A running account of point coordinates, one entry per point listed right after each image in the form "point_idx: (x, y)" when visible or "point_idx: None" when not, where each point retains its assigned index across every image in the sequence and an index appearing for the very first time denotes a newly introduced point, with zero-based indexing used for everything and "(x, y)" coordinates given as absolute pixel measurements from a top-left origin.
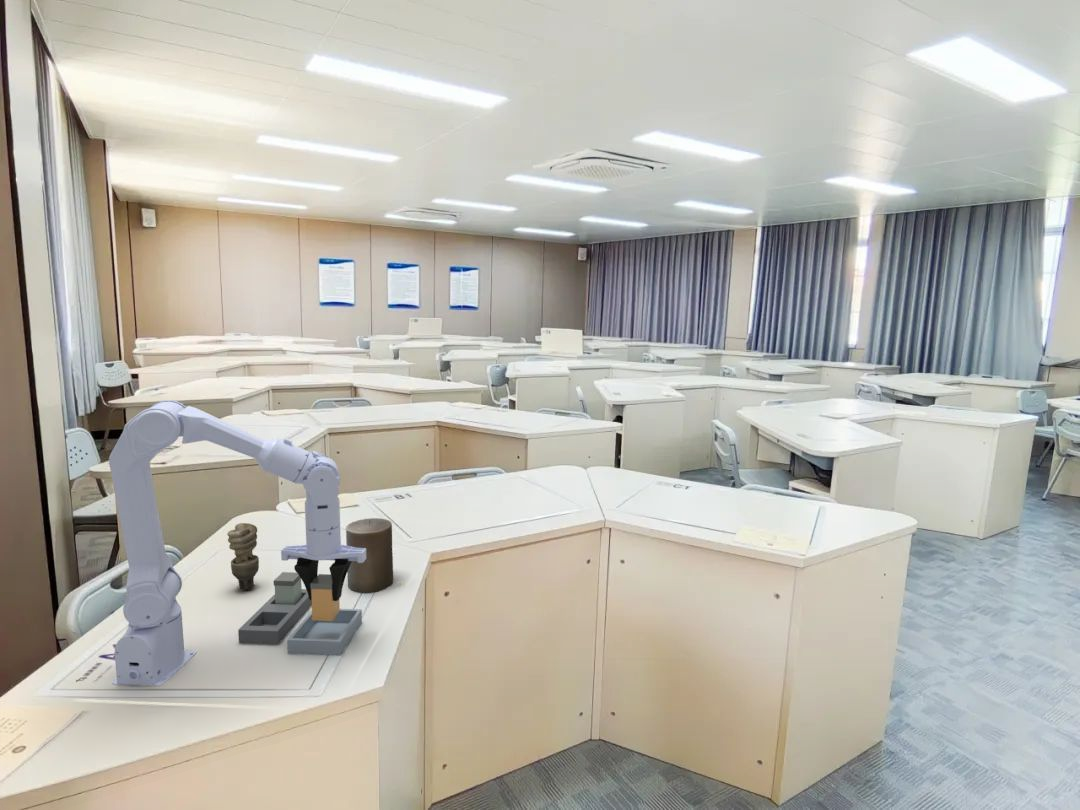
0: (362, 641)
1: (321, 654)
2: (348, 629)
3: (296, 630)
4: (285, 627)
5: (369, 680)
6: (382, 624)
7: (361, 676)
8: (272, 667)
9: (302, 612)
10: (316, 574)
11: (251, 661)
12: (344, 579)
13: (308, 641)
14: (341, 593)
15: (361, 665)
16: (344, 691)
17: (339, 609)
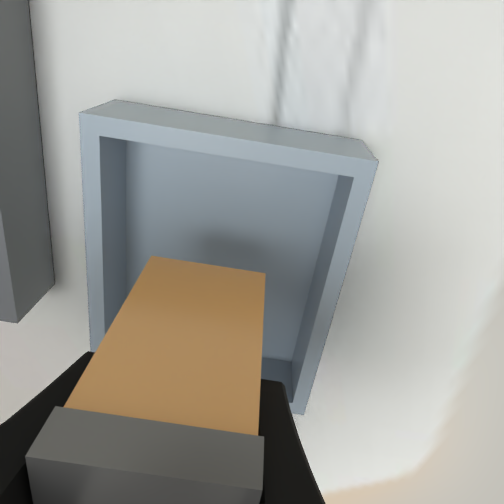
0: (370, 280)
1: None
2: (324, 340)
3: (96, 325)
4: (22, 245)
5: (399, 460)
6: (466, 150)
7: (376, 444)
8: None
9: (13, 42)
10: (12, 501)
11: (14, 348)
12: (318, 495)
13: None
14: (286, 397)
15: (373, 404)
16: (334, 484)
17: (264, 278)
